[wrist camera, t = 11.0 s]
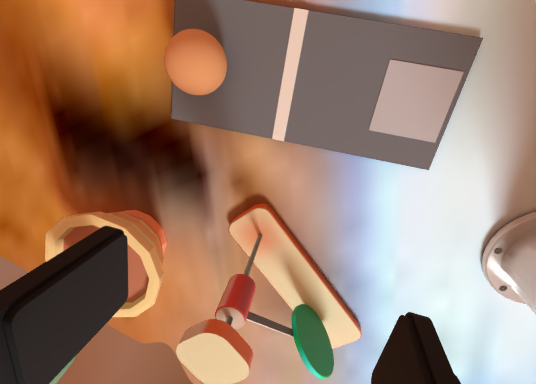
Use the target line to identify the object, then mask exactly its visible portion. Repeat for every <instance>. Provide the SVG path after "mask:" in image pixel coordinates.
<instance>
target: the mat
mask: <svg viewBox="0 0 536 384" xmlns="http://www.w3.org/2000/svg"><path fill="white" fill-rule="evenodd" d="M186 29H199V30H203V31H205V32H207V33H209V34H211V35H212V36H213V37H215V38H216V39H217V41H218V42H219V43H220V44H221V46H222V48H223V50H224V52H225V55H226V59H227V71H226V76H225V78H224V81H223V82H222V84H221V85H220V86H219V87H218V88H217V89H216V90H215V91H213V92H211V93H209V94H206V95H192V94H189V93H186V92H184V91H182V90H181V89H179V88H178V87H177V86H176V85H175V84H174V83H173V88H172V119H176V120H181V121H186V122H191V123H196V124H201V125H206V126H211V127H216V128H221V129H226V130H231V131H236V132H241V133H246V134H251V135H256V136H261V137H266V138H271V139H275V140H280V141H286V142H291V143H296V144H301V145H306V146H311V147H316V148H321V149H326V150H331V151H336V152H341V153H346V154H351V155H356V156H361V157H366V158H371V159H376V160H381V161H386V162H391V163H396V164H401V165H406V166H411V167H416V168H421V169H426V170H429V168H430V166H431V163H432V161H433V158H434V156H435V153H436V151H437V149H438V146H439V144H440V141H441V139H442V136H443V134H444V132H445V129H446V127H447V124H448V122H449V119H450V117H451V115H452V112H453V110H454V107H455V105H456V102H457V100H458V98H459V95H460V93H461V90H462V88H463V85H464V83H465V81H466V78H467V76H468V73H469V71H470V68H471V66H472V64H473V61H474V59H475V56H476V54H477V51H478V49H479V47H480V44H481V42H482V39H483V38H480V37H474V36H467V35H461V34H455V33H448V32H442V31H436V30H429V29H423V28H417V27H410V26H404V25H398V24H391V23H385V22H379V21H372V20H366V19H360V18H354V17H347V16H341V15H335V14H328V13H322V12H316V11H309V10H304V9H298V8H290V7H284V6H278V5H271V4H265V3H259V2H252V1H246V0H175V14H174V35H176V34H177V33H179V32H180V31H183V30H186Z"/></svg>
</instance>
